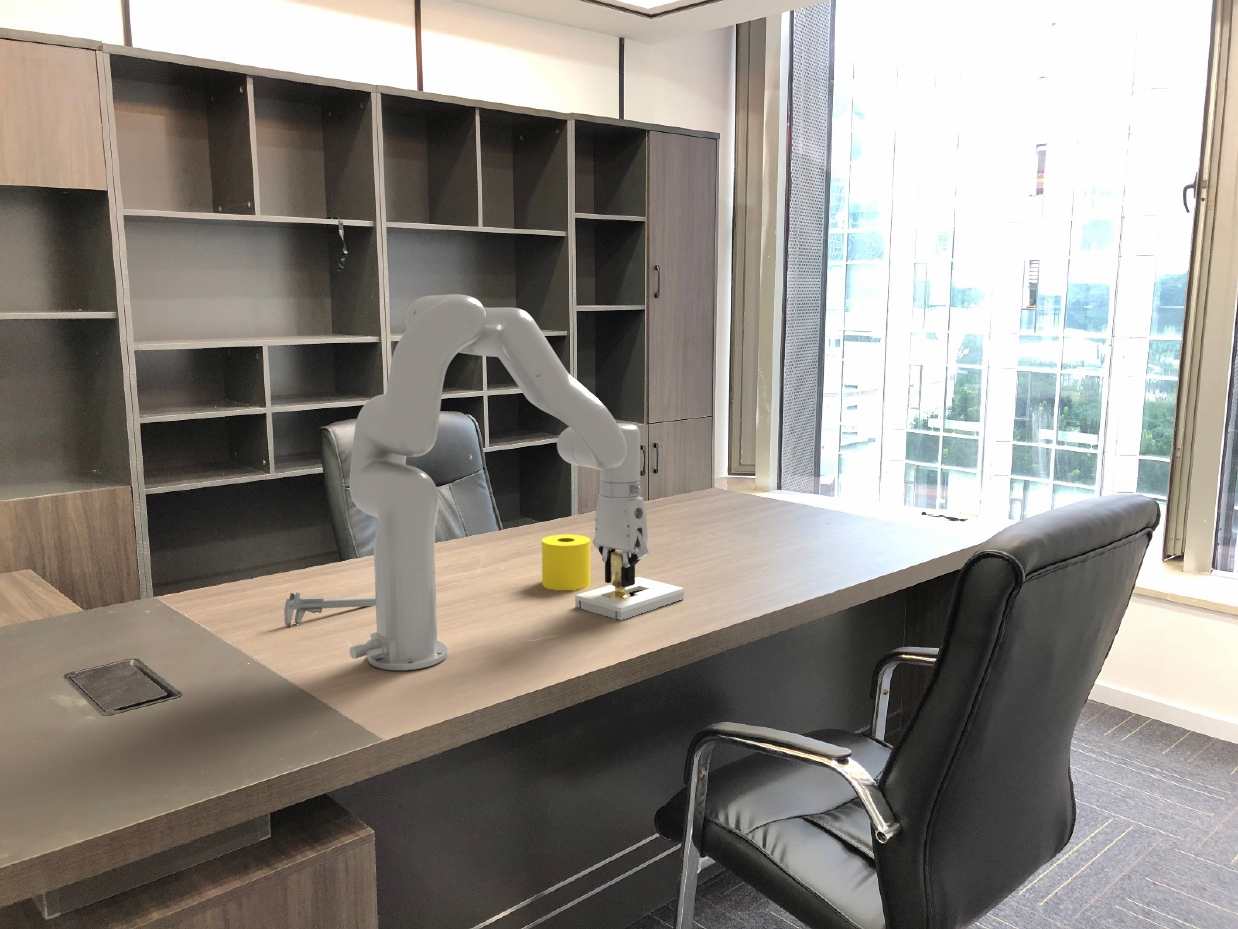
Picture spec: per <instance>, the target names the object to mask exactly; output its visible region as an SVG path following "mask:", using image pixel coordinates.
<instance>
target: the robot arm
mask: <svg viewBox="0 0 1238 929" xmlns="http://www.w3.org/2000/svg"><path fill="white" fill-rule="evenodd" d="M404 322H405V327H406V329H405V332H404V333H403V334H402V335H401V337H400V338H399V340H398V342H397V343H396V346H395V349H394V350H393V354H392V358H391V362H390V367H389V374H388V379H387V380H388V381H387V387H386V392H385V393H383V394H379V395H375V396H374V397H372V398H370V399H369V400H367V401H366V403H364V405H363V406H362V408H361V409H360V411H359V413H358V415H357V418H356V421H355V426H354V435H353V443H352V451H351V458H350V459H351V460H350V471H349V481H348V482H349V486H348V487H349V494H350V497H351V500H352V502H353V504H354V505H355V506H356V507H357V509H359V510H360V511H361V512H362V513H364V514H366V515H369V516H371V517H374V518H377V519H378V520H377V521H378V522H377V528H376V532H375V539H374V542H373V543H374V545H373V567H374V588H375V589H374V590H375V591H374V592H375V594H374V595H375V598H376V605H375V616H376V617H375V618H376V620H375V621H376V622H375V623H376V632H373V633H370V640H367V641H366V642H365V643H364V644H363V643H362V644H357V645H353V646H351V647H350V648H349V654H350V655H349V656H350V657H351V659H353V660H355V659H358V658H362V657H366V658H367V661H368V663H369V664H370V665H371V666H373V667H375V668H378V669H382V670H387V671H411V670H412V671H413V670H419V669H425V668H428V667H431V666H434V665H437V664H439V663H441V662H442V661H444V659H446V657H447V655H448V648H447V645H445V643H443V642H442V641H439V640H438V625H437V624H438V623H437V621H438V620H437V594H436V593H437V588H436V586H437V584H436V560H435V559H436V555H435V553H436V552H435V550H436V549H435V547H436V546H435V543H436V541H435V540H436V539H435V537H436V535H435V534H436V525H437V524H436V523H437V520H438V519H437V518H438V511H439V503H440V502H439V497H440V496H439V491H438V488H437V486H436V485H437V484H436V483H435V481H434V480H433V479H432V477H431V476H430V475H428V474H427V473H426V472H425V471H423V470H422V469H420V468H418V467H416V466H412V465H408V464H406V463H407V457H409V458H415V457H422V456H424V455H426V454H428V453H430V451H431V450H432V449H433V447H434V446H435V443H436V441H437V438H438V432H439V422H440V414H441V413H440V412H441V405H442V395H443V387H444V382H445V377H446V373H447V370H448V367H449V365H450V363H451V361H452V360H453V359H454V358H455V357H456V355H457V354H459V353H460V354H467V355H473V356H482V357H493V358H494V357H496V358H499V360H500V362H501V363H502V364H503V366H504V367H505V369H506V370H507V372H508V373H509V374H510V375H511V377H512V378H513V380H514V382H515V383H516V384H517V387H518V388H519V389H520V391H521V392H522V394H523V395H524V396H525V398H526V400H527V401H528V402H530V403H531V404H532V405H534V406H535V407H536V408H538V409H539V410H541V411H543V412H545V413H547V414H549V415H551V416H553V417H554V418H557V419H558V420H560V421H561V422H562V423H564V424H565V425H566V426H568V427H567V428H565V429H564V430H563V431H562V432H561V433H560V435H559V436H558V439H557V442H556V449H557V453H558V455H559V456H560V457H561V458H562V460H564V462H566V463H568V464H571V465H573V466H576V467H577V466H578V467H583V468H590V469H593V470H594V469H595V470H599V495H598V497H597V502H596V507H595V508H596V509H595V519H594V520H595V521H594V538H593V540H592V544H593V546H594V547H595V548H596V549H597V550H598V552H599V554H600V555H601V561H602V562H603V563H604V583H605V584H611V553H612V552H616V551H622V554H623V563H624V566H623V567H622V568H621V586H622V587H624V588H625V587H629V586H632V585H634V584H635V578H636V565H638V564H639V561H640V560H642V558H645V557H646V556H648V555H649V554H650V553H649V550H648V542H649V541H648V540H649V537H648V536H649V535H648V534H649V533H648V519H647V512H646V510H647V509H646V506H645V501H644V497H642V496H641V494H642V493H643V490H644V489H643V487H642V486H641V484H640V483H641V464H640V463H641V432H640V428H639V427H638V426H637V425H635V424H632V423H622V422H621V423H620V422H619V423H617V421H616V420H615V418H614V416H613V415H612V413H611V412H610V411H609V409H608V408H607V406H605V405H604V403H603V402H602V401H600V400H599V398H598V397H596V396H595V395H594V394H593V393H592V392H590V390H588V388H586V387H585V386H584V385H583V384H582V383H580V382H579V380H577V379H576V378H574V377H573V376H572V375H571V374H570V373H569V372H568V370H567V369H566V368H565V366H564V364H563V362H561V360H560V358H559V357H558V355H557V354H556V352H555V351H554V349H553V346H551V344H550V343H549V341H548V339H547V337H545V334H544V333H543V331H542V330H541V328H540V327H539V325H538V324H537V322H536V321H535V320H534V318H533V317H532V316H531V315H530V314H529V313H528V311H526V310H523V309H521V308H518V307H484V305H483V304H482V303H481V302H480V301H479V300H478V299H477V298H475V297H473V296H470V295H466V294H459V293H457V294H455V293H454V294H453V293H452V294H451V293H450V294H441V295H438V294H436V295H426V296H421V297H419V298H417V299H416V300H414V301H413V302H412V303H411V304H410V305H409V307H408V308H407V310H406V314H405V319H404ZM629 554H630V558H629Z"/></svg>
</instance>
